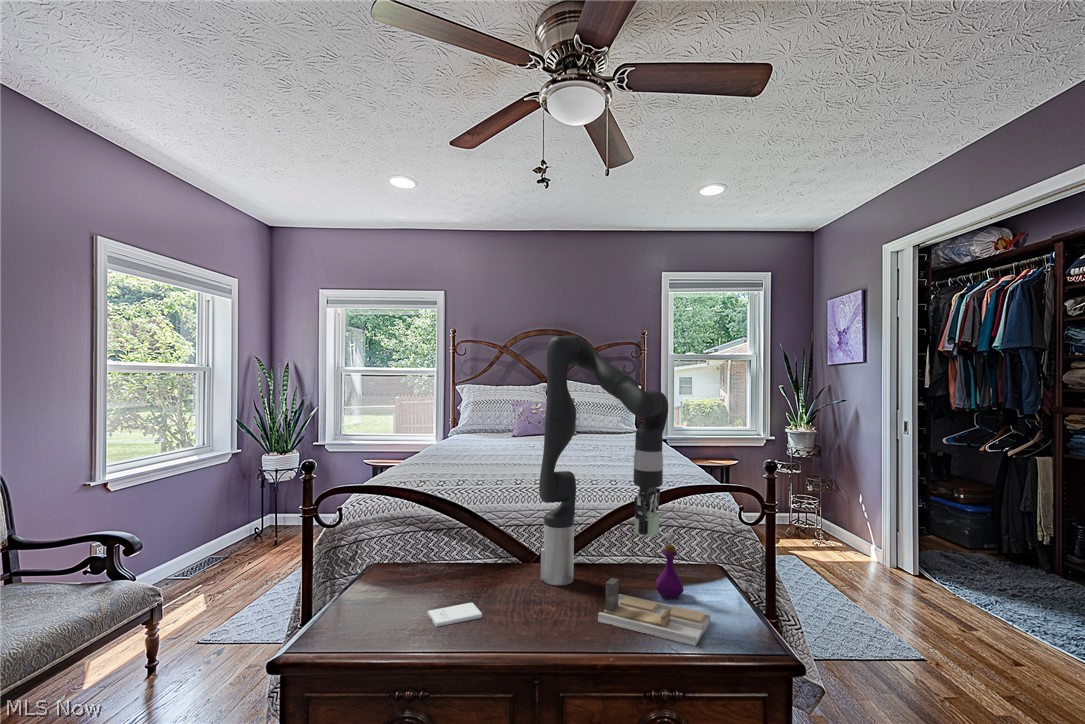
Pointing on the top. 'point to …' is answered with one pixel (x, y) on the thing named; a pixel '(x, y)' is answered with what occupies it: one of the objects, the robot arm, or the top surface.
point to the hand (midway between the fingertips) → (646, 531)
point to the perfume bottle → (669, 574)
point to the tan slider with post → (631, 613)
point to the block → (649, 524)
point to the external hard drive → (454, 614)
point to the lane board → (682, 621)
